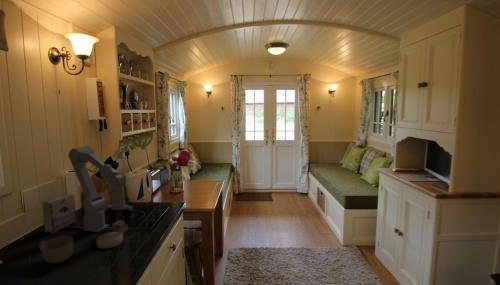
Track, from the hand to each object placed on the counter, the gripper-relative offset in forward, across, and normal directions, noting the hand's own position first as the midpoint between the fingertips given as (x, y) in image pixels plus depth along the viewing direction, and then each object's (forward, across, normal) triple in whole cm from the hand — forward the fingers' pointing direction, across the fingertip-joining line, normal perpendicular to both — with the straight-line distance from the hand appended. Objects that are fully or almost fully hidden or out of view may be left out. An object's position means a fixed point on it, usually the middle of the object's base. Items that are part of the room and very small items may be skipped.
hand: (120, 223), depth 137 cm
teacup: (+5, -9, -28) cm, 30 cm away
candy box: (+5, -36, -2) cm, 36 cm away
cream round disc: (+5, +3, -11) cm, 12 cm away
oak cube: (+5, 0, 0) cm, 5 cm away
